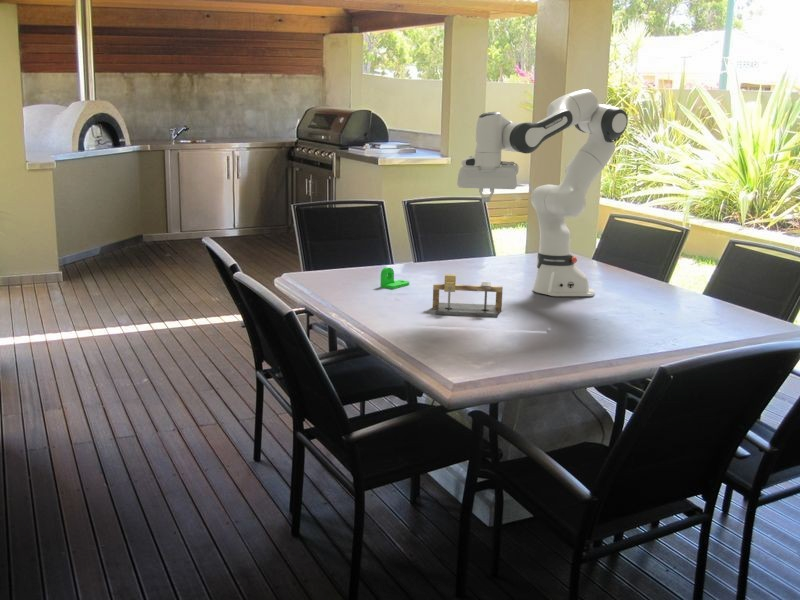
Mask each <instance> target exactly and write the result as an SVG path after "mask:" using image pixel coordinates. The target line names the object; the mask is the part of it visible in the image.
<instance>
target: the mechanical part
mask: <svg viewBox="0 0 800 600" xmlns="http://www.w3.org/2000/svg"><path fill="white" fill-rule="evenodd" d="M406 286H407V287H408V286H410V281H409V280H405V279H398V280H397V279H396V280H395V271H394V269H393V268H391V267H388V266H385V267H383V268H382V270H381V271H380V288H384V289H390V290H397V289H399V288H403V287H406Z"/></svg>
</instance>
